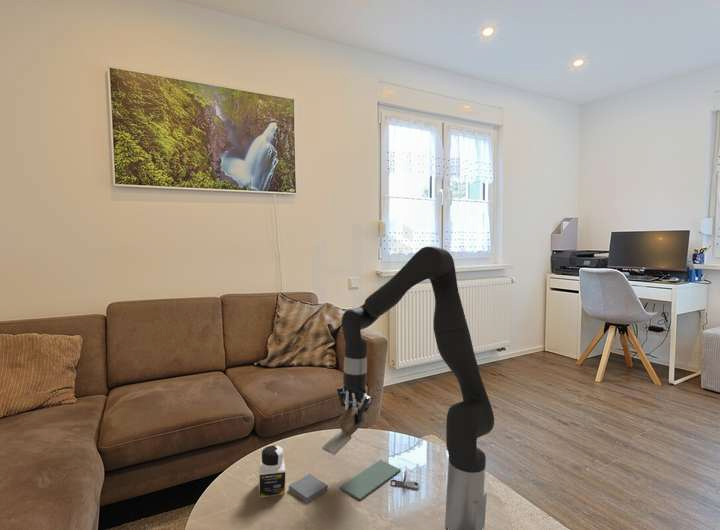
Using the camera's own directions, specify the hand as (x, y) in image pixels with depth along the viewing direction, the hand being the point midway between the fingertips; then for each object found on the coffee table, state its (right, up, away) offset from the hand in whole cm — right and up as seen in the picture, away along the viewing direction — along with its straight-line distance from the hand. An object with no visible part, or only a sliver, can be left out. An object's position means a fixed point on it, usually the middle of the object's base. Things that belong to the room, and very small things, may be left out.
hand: (353, 422), depth 127 cm
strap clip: (+16, -16, -8) cm, 24 cm away
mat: (+6, -15, -6) cm, 17 cm away
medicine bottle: (-24, -15, -12) cm, 30 cm away
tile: (-10, -14, -9) cm, 20 cm away
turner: (-2, -3, -2) cm, 5 cm away
